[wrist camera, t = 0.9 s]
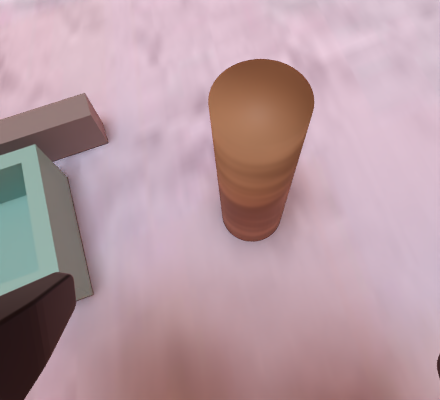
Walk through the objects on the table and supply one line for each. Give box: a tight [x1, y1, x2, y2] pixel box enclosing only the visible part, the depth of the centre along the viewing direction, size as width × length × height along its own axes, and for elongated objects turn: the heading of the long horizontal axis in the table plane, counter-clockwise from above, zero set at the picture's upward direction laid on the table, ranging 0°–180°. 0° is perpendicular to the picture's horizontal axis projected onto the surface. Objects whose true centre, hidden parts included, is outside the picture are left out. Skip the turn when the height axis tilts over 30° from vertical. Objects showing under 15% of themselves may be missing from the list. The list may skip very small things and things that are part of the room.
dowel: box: [208, 59, 314, 241], centre depth 19 cm, size 4×4×12 cm
